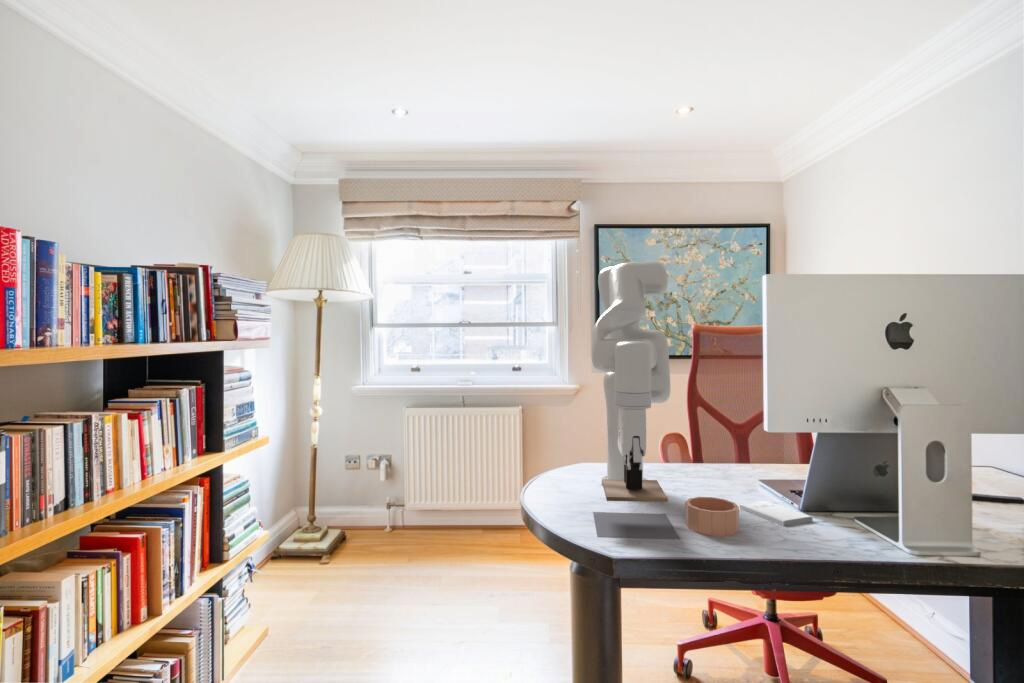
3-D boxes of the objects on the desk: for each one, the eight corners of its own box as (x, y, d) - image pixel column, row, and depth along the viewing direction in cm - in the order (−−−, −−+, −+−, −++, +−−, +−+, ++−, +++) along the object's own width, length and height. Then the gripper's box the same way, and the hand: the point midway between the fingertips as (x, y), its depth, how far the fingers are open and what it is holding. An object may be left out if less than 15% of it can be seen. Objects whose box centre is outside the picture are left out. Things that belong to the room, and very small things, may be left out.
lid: (602, 482, 119) (602, 457, 119) (656, 483, 118) (656, 457, 118) (606, 500, 107) (606, 472, 107) (667, 502, 106) (667, 473, 106)
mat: (593, 513, 120) (593, 512, 120) (665, 515, 118) (665, 513, 118) (597, 538, 105) (597, 536, 105) (680, 540, 103) (680, 539, 103)
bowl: (681, 519, 115) (681, 496, 115) (729, 520, 114) (729, 497, 114) (693, 536, 105) (692, 511, 105) (745, 537, 105) (744, 512, 104)
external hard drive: (783, 528, 111) (739, 510, 123) (812, 523, 114) (766, 506, 125) (783, 520, 111) (739, 503, 123) (812, 516, 114) (766, 499, 125)
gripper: (611, 394, 120) (611, 474, 121) (618, 406, 104) (619, 498, 105) (644, 394, 119) (645, 475, 120) (657, 406, 103) (658, 499, 104)
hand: (633, 485), depth 112 cm, fingers closed on lid, 3 cm apart
